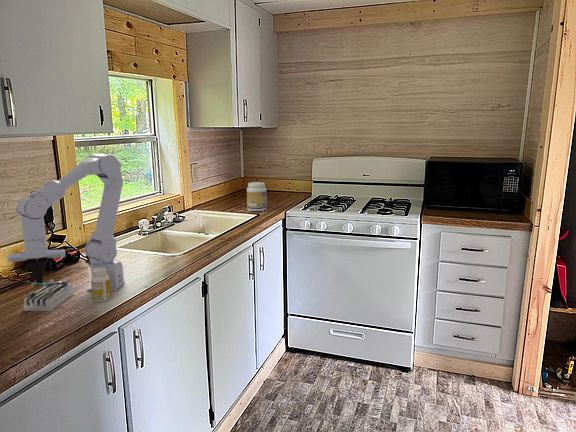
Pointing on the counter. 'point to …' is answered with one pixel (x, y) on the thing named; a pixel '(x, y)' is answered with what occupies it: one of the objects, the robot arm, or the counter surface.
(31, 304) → the heat sink
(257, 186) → the supplement tub
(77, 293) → the counter surface
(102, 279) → the supplement bottle
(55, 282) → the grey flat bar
